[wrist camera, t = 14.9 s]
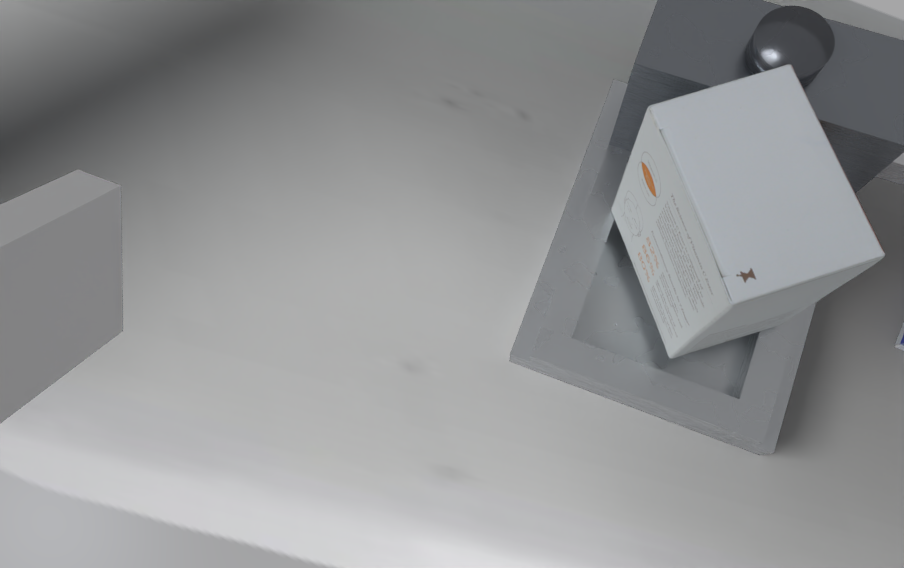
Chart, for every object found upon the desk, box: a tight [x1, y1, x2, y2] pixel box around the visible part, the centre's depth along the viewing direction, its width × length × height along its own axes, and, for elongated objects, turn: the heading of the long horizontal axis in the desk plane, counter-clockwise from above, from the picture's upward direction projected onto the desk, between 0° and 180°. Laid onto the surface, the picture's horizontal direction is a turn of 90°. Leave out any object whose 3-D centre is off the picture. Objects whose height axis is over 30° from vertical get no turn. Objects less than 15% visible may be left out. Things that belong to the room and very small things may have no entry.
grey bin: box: [509, 0, 904, 455], centre depth 34 cm, size 14×16×12 cm
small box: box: [611, 64, 885, 359], centre depth 31 cm, size 8×6×10 cm
